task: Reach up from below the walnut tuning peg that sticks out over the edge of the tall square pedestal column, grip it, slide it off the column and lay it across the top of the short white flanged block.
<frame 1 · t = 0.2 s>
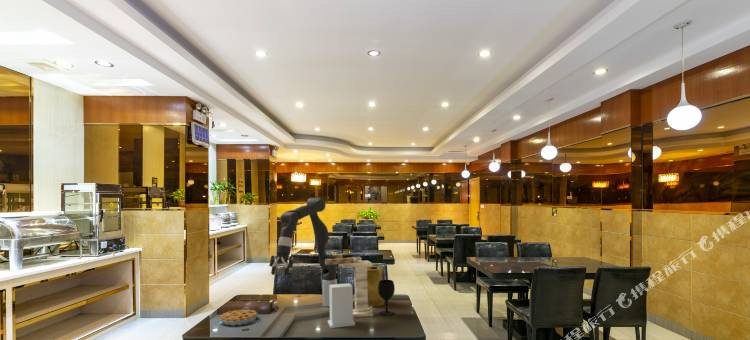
hand: (279, 274, 230), 31 cm above the table, tool tilted 20°, fingers open, 8 cm apart
white flanged block: (341, 324, 239), on the table
pitcher: (373, 304, 281), on the table
peg: (343, 263, 256), point 32 cm above the table, touching square pedestal column
pie: (238, 321, 249), on the table
wine glass: (386, 314, 257), on the table
square pedestal column: (356, 314, 257), on the table
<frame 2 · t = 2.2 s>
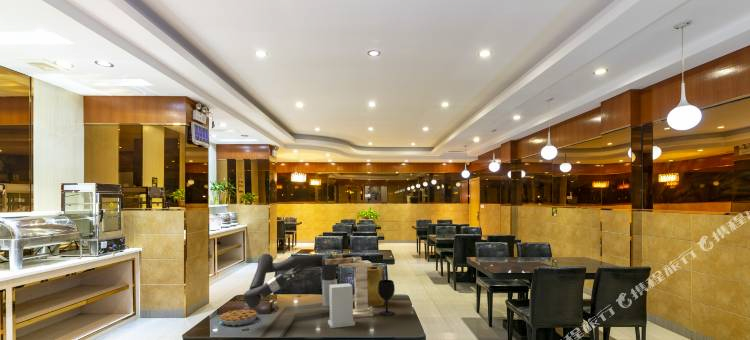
hand: (301, 267, 248), 31 cm above the table, tool pointing upward, fingers open, 8 cm apart
nothing on the table moved.
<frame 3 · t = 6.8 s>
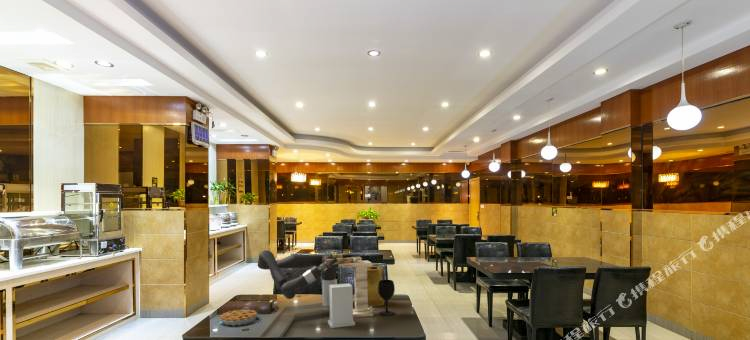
hand: (336, 259, 255), 35 cm above the table, tool pointing upward, fingers closed on peg, 3 cm apart
peg: (343, 263, 256), point 32 cm above the table, touching gripper, square pedestal column
everything else where it was.
when the fingers open (26 cm above the table, at t = 14.4 s): peg stays where it is, resting on white flanged block.
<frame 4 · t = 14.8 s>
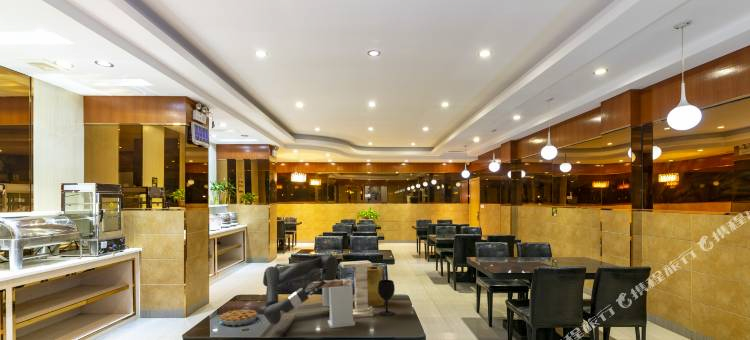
hand: (323, 280, 237), 26 cm above the table, tool pointing upward, fingers open, 6 cm apart
peg: (332, 286, 238), point 22 cm above the table, touching white flanged block
everything else where it was.
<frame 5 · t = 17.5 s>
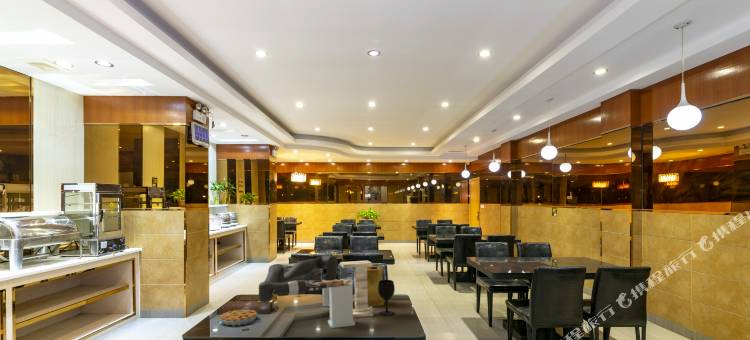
hand: (323, 283, 234), 24 cm above the table, tool horizontal, fingers open, 8 cm apart
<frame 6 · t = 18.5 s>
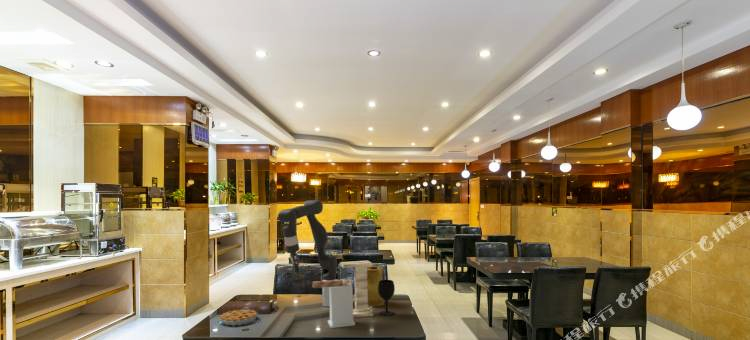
hand: (296, 270, 242), 31 cm above the table, tool pointing down, fingers open, 8 cm apart
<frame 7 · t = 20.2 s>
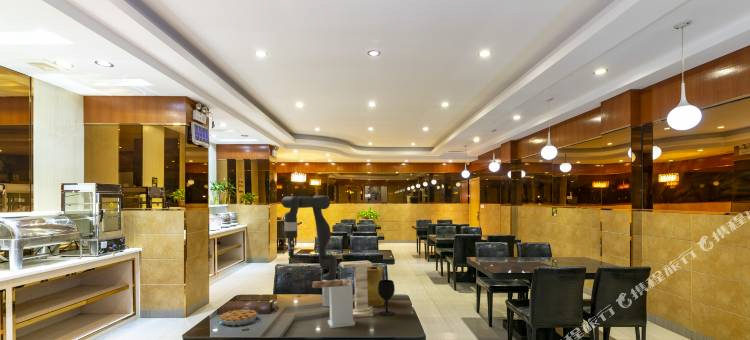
hand: (291, 257, 245), 38 cm above the table, tool pointing down, fingers open, 8 cm apart
nothing on the table moved.
at the end: peg inside the target area on the white flanged block (0.7 cm from its centre), point 22.0 cm above the white flanged block's base; the gripper is holding nothing; peg tilted 0° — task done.
